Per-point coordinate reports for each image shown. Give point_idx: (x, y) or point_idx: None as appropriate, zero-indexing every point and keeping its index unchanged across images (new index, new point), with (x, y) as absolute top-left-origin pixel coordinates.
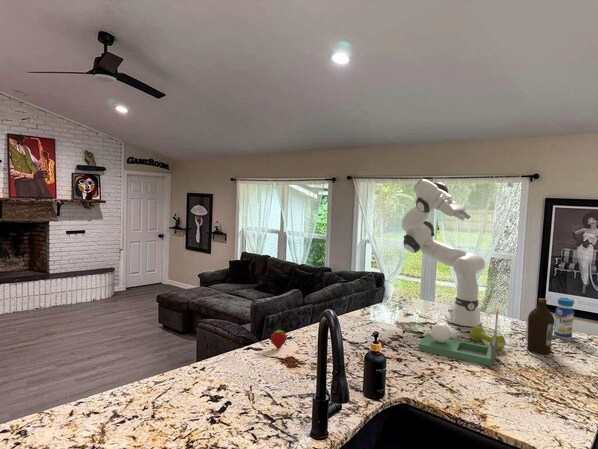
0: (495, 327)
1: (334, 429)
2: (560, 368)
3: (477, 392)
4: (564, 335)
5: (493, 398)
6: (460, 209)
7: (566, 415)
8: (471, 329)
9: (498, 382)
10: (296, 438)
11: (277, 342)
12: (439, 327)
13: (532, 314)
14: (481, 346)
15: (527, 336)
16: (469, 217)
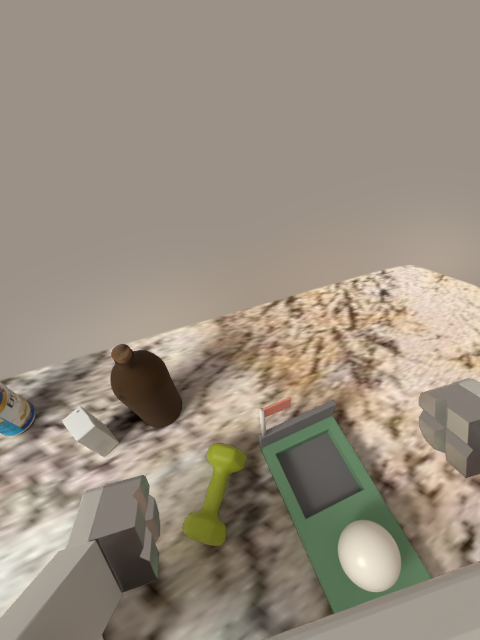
0: (265, 428)
1: None
2: (223, 351)
3: (449, 375)
4: (31, 407)
5: (437, 354)
6: (377, 612)
7: (375, 292)
8: (216, 541)
9: (380, 376)
10: None
11: None
12: (392, 547)
13: (154, 382)
14: (281, 468)
15: (107, 447)
16: (147, 482)
